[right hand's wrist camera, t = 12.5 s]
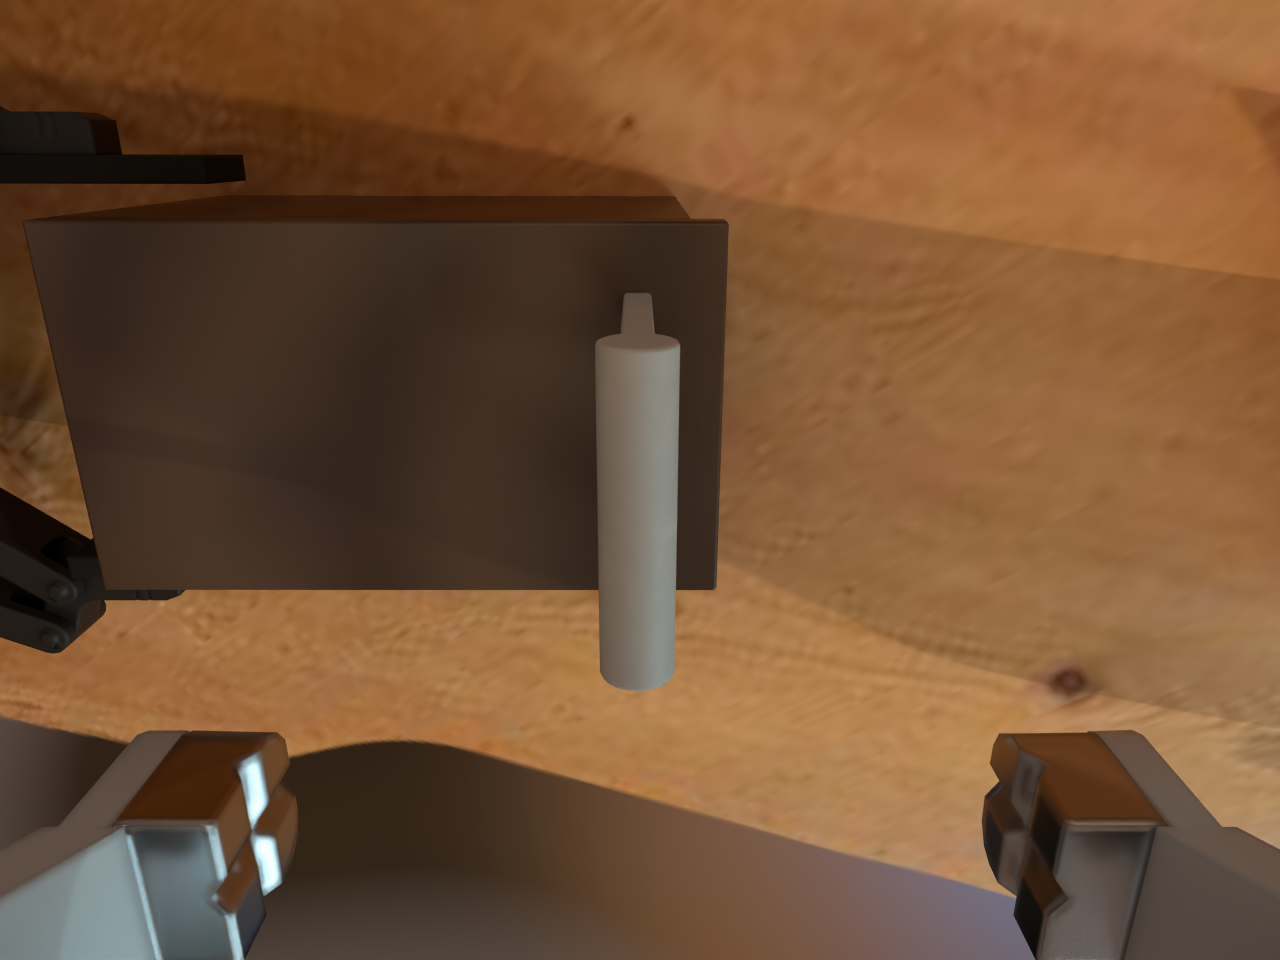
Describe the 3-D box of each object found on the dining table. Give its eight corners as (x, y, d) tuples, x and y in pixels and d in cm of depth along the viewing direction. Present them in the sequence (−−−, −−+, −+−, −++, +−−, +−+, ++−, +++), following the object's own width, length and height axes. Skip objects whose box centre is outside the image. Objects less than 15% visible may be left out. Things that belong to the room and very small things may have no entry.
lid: (725, 219, 24) (771, 256, 16) (714, 577, 27) (745, 758, 19) (41, 217, 24) (-265, 255, 16) (120, 577, 27) (-97, 758, 19)
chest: (675, 196, 34) (692, 218, 24) (671, 459, 37) (684, 577, 27) (222, 195, 34) (43, 217, 24) (261, 458, 37) (120, 576, 27)
